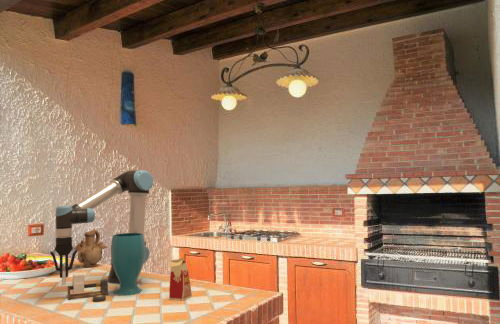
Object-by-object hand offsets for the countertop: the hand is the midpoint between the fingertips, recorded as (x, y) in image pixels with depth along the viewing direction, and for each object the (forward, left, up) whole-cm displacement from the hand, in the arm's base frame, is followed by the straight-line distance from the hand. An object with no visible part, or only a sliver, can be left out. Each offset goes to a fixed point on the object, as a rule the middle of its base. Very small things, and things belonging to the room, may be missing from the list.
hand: (63, 284), depth 223 cm
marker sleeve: (-7, 0, -5) cm, 8 cm away
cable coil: (-15, +12, -7) cm, 21 cm away
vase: (-31, +2, -8) cm, 32 cm away
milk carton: (-51, +27, -8) cm, 59 cm away
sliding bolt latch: (-11, 0, -7) cm, 13 cm away
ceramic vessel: (-21, -84, -8) cm, 87 cm away
